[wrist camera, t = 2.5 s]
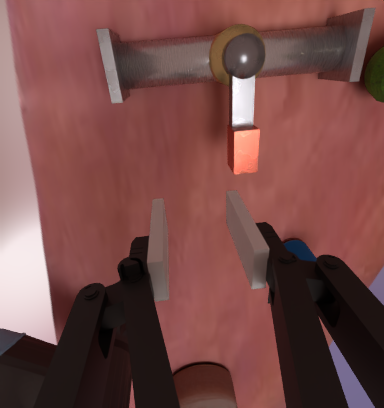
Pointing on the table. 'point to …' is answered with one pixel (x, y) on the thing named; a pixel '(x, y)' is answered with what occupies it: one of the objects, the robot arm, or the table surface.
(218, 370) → the planter
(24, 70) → the table surface
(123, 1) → the table surface
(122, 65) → the valve body
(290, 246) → the beverage can
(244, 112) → the lever
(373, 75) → the fruit
